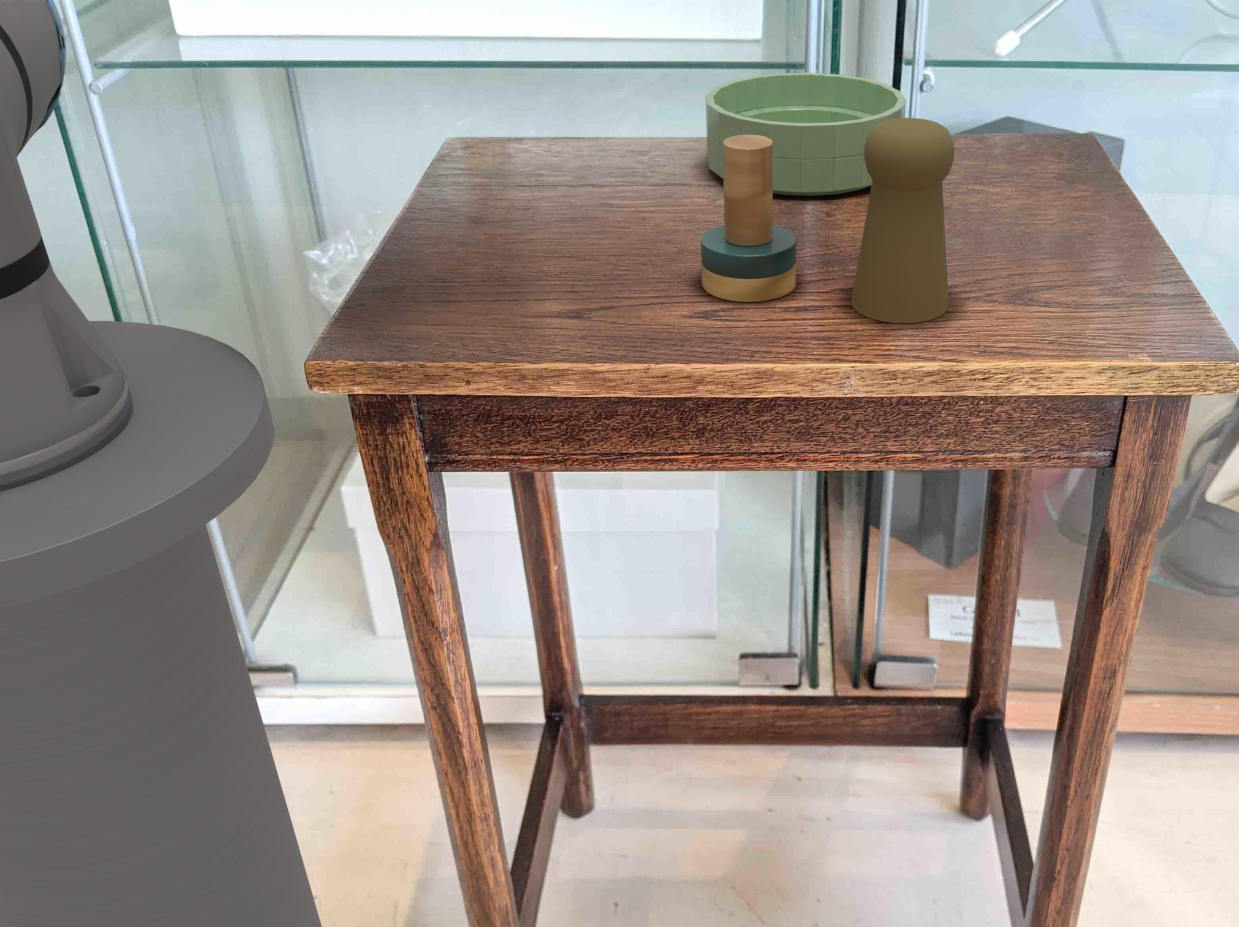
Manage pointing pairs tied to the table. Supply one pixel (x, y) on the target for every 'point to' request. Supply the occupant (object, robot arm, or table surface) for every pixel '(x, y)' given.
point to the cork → (904, 223)
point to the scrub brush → (748, 230)
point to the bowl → (803, 126)
